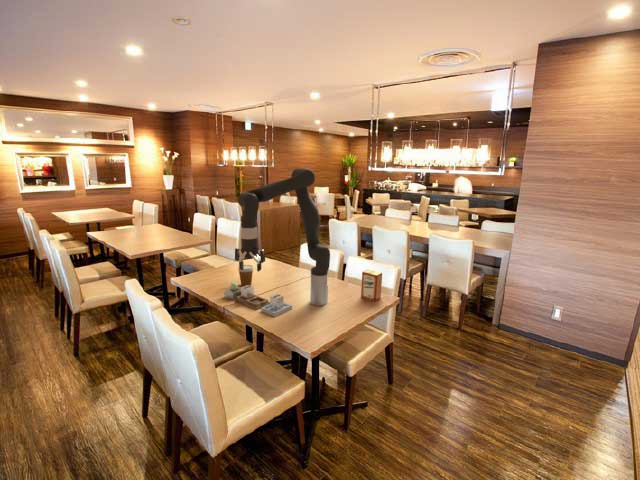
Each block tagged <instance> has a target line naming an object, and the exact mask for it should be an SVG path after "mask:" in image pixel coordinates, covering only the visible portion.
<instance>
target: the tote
mask: <svg viewBox="0 0 640 480" xmlns="http://www.w3.org/2000/svg"><path fill="white" fill-rule="evenodd" d="M292 309H293V305H292V304H290V303H287V302H284V301H283V308H282V309H280V310H278V311H274V310H272V309H270V304H269V305H266V306H264V307H262V308H260V312H261V313H264V314H267V315H269V316H271V317H274V318H275V317H278V316H279V315H281V314H283V313H286V312H288V311H291V310H292Z"/></svg>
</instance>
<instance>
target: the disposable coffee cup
mask: <svg viewBox="0 0 640 480" xmlns="http://www.w3.org/2000/svg"><path fill="white" fill-rule="evenodd" d="M237 270H238V273H239V280H240V285H241V287H244V286H247V285H249V286H252V282H253V281H252V280H253V272H254V267H253V265H252V264H251V265H250V264H244V269H243V270H240V268H239V267H238V269H237Z"/></svg>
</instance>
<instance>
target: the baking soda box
mask: <svg viewBox="0 0 640 480" xmlns="http://www.w3.org/2000/svg"><path fill="white" fill-rule="evenodd" d="M361 273H362V274H361V293H360V298H362V297H365V298H364V299H366V298H368V299H367V300H369V299H371V300H370V301H372V300H374V301H373V302H376V300H377V301H379V300H380V299H381V295H382V285H383V284H382V283H383V272H380V271H377V270H373V269H366V270H363V271H362V272H361ZM379 298H380V299H379Z"/></svg>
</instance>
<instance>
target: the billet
mask: <svg viewBox="0 0 640 480" xmlns="http://www.w3.org/2000/svg"><path fill="white" fill-rule="evenodd" d="M269 302H270V309H272V310H274V311H278V310H280V309H282V308H283V302H284V295H282V294H278V293H275V294H272V295H270V296H269Z"/></svg>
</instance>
